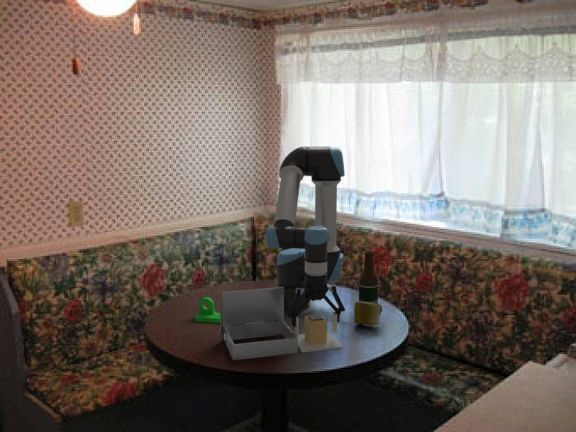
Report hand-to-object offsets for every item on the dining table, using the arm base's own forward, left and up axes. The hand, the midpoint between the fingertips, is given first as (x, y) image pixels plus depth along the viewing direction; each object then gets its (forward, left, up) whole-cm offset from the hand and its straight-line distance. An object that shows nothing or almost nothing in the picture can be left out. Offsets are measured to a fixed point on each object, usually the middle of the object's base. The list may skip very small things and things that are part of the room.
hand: (315, 333), depth 196 cm
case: (+19, -2, -3) cm, 19 cm away
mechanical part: (+30, -32, -4) cm, 44 cm away
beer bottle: (-30, -25, -3) cm, 39 cm away
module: (0, 0, -3) cm, 3 cm away
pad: (0, 0, -3) cm, 3 cm away
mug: (-23, -7, -3) cm, 24 cm away
